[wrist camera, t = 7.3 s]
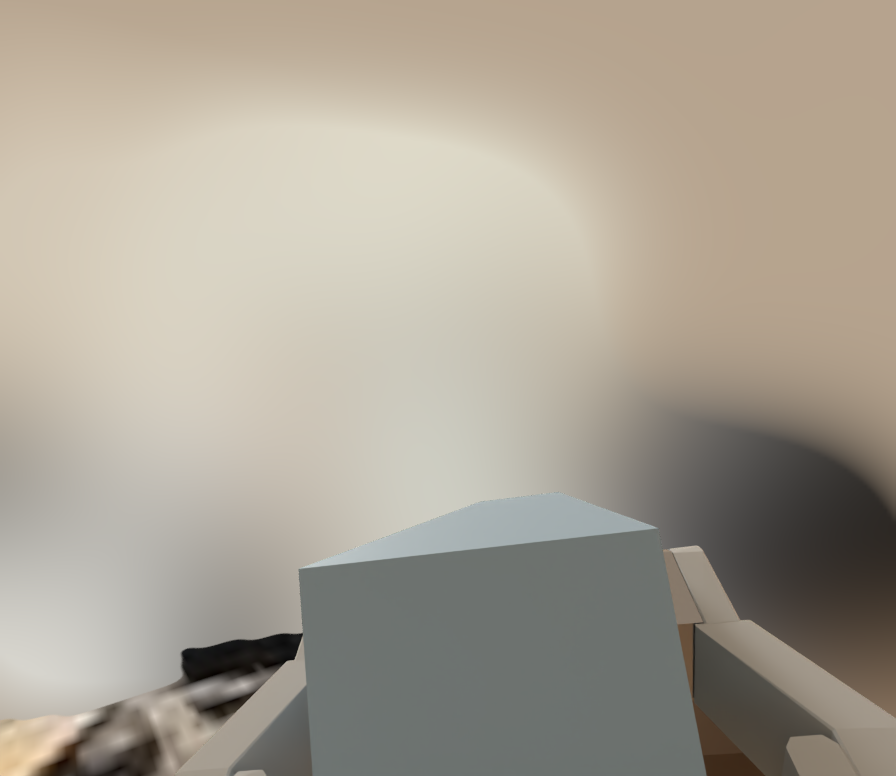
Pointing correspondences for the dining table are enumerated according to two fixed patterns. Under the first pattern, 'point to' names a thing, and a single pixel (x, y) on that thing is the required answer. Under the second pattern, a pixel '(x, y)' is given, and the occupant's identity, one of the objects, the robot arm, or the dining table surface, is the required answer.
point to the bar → (499, 649)
